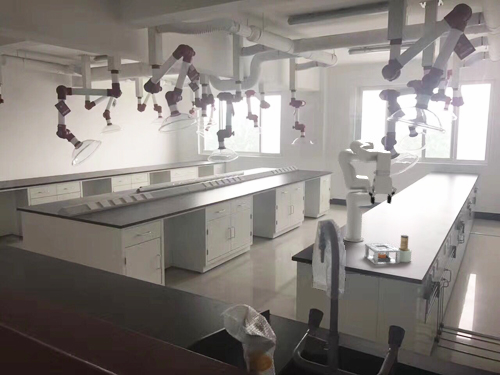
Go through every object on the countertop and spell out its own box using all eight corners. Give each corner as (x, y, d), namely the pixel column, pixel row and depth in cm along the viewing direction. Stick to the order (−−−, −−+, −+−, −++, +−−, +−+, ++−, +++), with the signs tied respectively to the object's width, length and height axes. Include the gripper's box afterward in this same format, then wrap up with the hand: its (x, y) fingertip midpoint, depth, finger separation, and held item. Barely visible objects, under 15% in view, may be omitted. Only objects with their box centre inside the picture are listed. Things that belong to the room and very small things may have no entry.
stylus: (401, 260, 216) (403, 237, 214) (398, 258, 220) (399, 235, 218) (408, 260, 216) (409, 236, 215) (404, 257, 220) (406, 235, 218)
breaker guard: (364, 256, 225) (364, 243, 224) (388, 255, 226) (388, 242, 225) (374, 264, 211) (375, 251, 210) (399, 263, 213) (400, 250, 212)
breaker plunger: (375, 258, 221) (376, 252, 220) (383, 257, 221) (384, 252, 221) (379, 260, 216) (379, 255, 216) (387, 260, 217) (387, 255, 216)
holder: (394, 258, 221) (394, 247, 220) (406, 257, 222) (406, 247, 221) (400, 262, 214) (400, 251, 213) (412, 262, 215) (413, 251, 214)
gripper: (371, 174, 217) (369, 205, 220) (400, 174, 219) (398, 204, 223) (365, 172, 224) (363, 202, 228) (394, 172, 227) (391, 201, 230)
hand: (380, 203), depth 225 cm, fingers open, 9 cm apart
